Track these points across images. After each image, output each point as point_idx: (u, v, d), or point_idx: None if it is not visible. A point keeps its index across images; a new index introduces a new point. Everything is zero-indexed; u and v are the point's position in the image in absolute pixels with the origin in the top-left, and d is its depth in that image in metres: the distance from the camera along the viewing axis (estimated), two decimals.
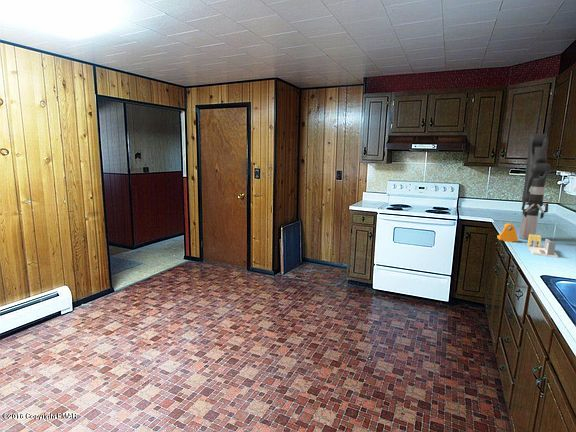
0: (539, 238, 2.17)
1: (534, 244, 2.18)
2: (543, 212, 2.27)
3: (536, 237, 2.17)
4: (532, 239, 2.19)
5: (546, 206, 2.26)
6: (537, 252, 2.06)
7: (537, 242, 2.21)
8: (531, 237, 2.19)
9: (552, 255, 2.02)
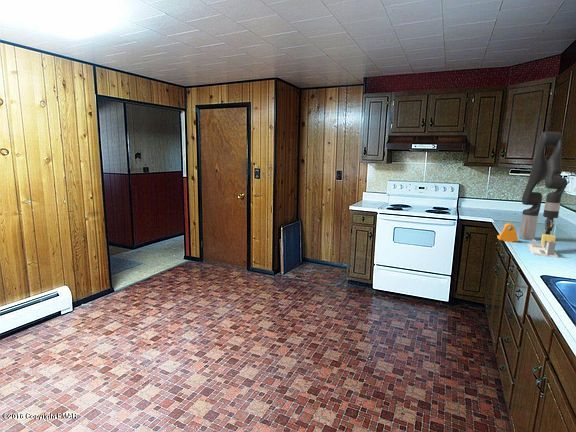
0: (553, 238, 2.09)
1: (534, 244, 2.18)
2: (545, 230, 2.15)
3: (550, 237, 2.10)
4: (546, 239, 2.11)
5: (548, 225, 2.11)
6: (537, 252, 2.06)
7: None
8: (545, 237, 2.11)
9: (552, 255, 2.02)
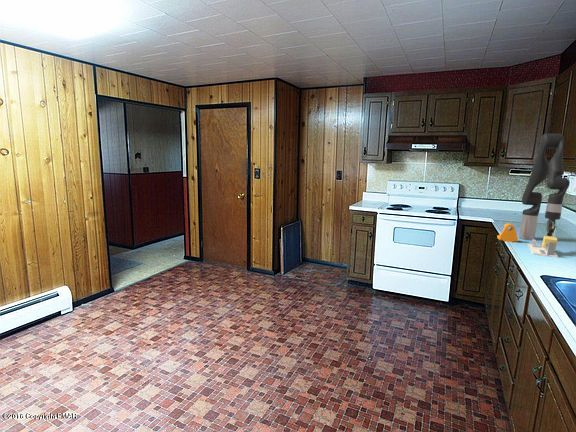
0: (555, 241, 2.04)
1: (534, 244, 2.18)
2: None
3: (552, 240, 2.05)
4: (547, 242, 2.06)
5: (549, 227, 2.06)
6: (537, 252, 2.06)
7: None
8: (546, 240, 2.06)
9: (552, 255, 2.02)
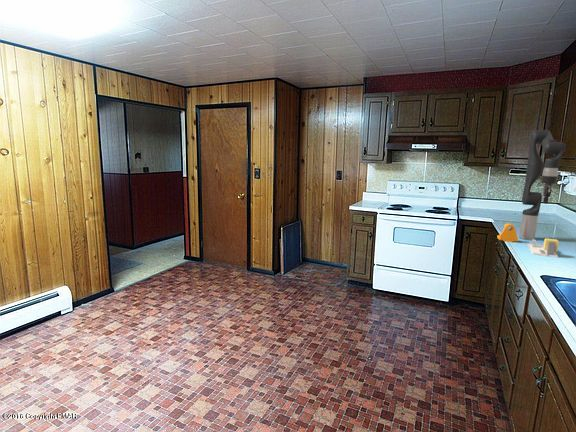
0: (556, 243, 2.01)
1: (534, 244, 2.18)
2: None
3: (553, 241, 2.02)
4: (548, 244, 2.03)
5: (546, 191, 2.10)
6: (537, 252, 2.06)
7: None
8: (547, 241, 2.03)
9: (552, 255, 2.02)
